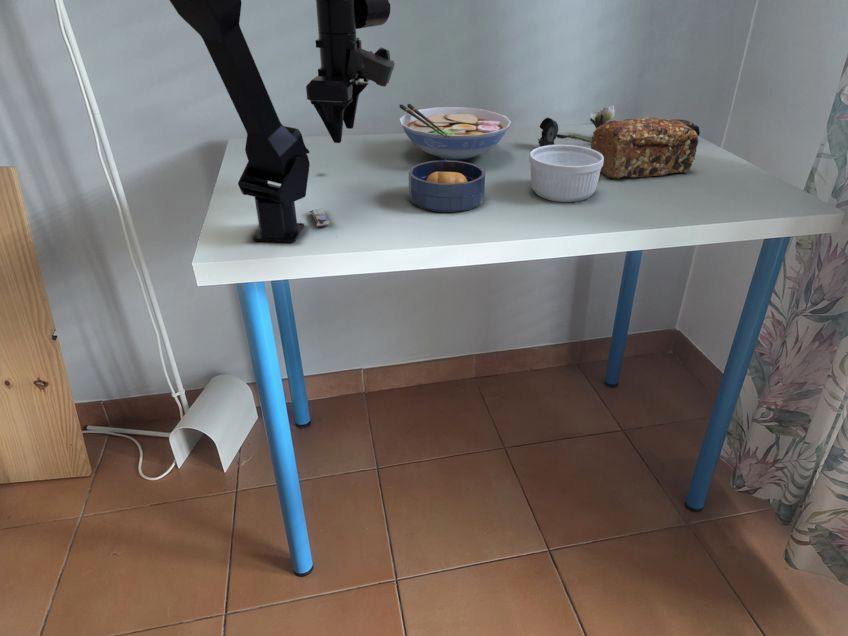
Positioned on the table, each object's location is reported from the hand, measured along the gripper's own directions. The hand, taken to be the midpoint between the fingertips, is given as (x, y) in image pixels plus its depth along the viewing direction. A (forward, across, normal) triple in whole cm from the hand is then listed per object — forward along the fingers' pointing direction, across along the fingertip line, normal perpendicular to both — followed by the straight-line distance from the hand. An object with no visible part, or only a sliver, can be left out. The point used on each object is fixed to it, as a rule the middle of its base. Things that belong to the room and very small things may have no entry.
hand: (343, 135), depth 111 cm
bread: (+11, +26, -54) cm, 61 cm away
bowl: (+11, +3, -17) cm, 21 cm away
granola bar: (+12, -9, +3) cm, 15 cm away
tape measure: (+10, +50, -67) cm, 84 cm away
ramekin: (+11, +10, -38) cm, 41 cm away
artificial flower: (+11, +44, -44) cm, 63 cm away
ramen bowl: (+11, +29, -16) cm, 35 cm away
